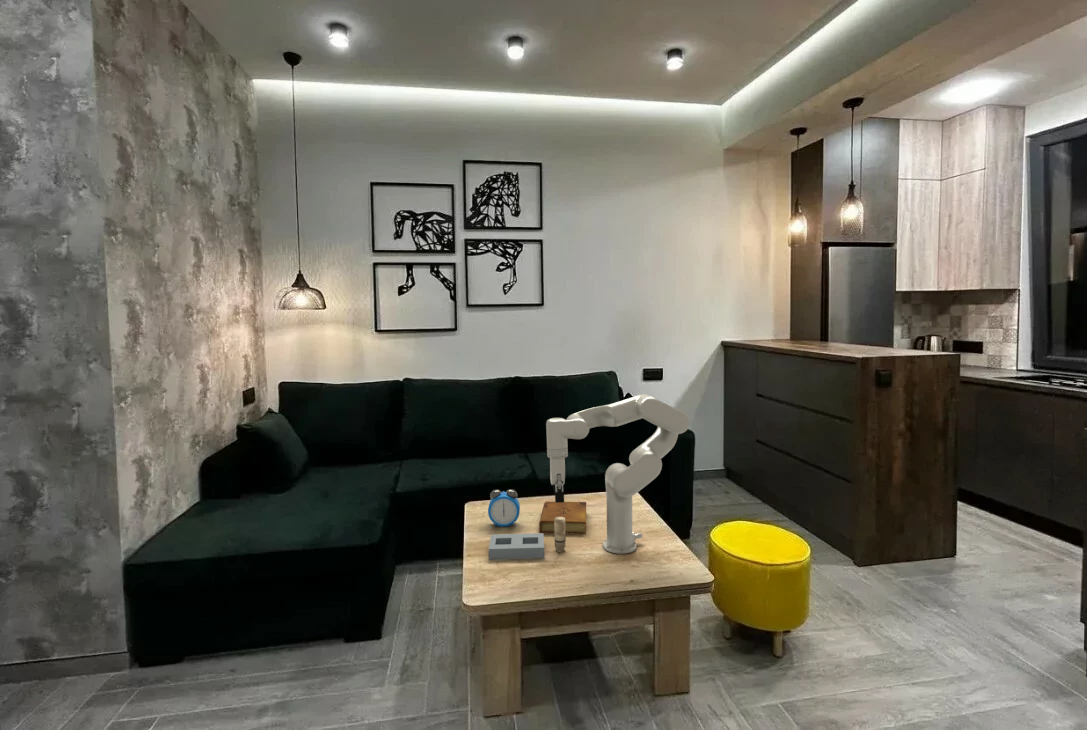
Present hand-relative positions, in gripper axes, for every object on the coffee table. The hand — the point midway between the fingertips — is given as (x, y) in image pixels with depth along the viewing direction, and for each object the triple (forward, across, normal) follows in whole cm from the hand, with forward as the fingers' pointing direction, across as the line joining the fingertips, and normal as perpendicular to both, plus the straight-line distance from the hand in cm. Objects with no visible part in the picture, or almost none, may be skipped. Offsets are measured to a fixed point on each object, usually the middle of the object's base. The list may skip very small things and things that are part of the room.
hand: (558, 497), depth 200 cm
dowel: (+20, -1, 0) cm, 20 cm away
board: (+20, -1, -16) cm, 26 cm away
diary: (+21, -28, +3) cm, 35 cm away
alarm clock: (+20, -27, -22) cm, 40 cm away
